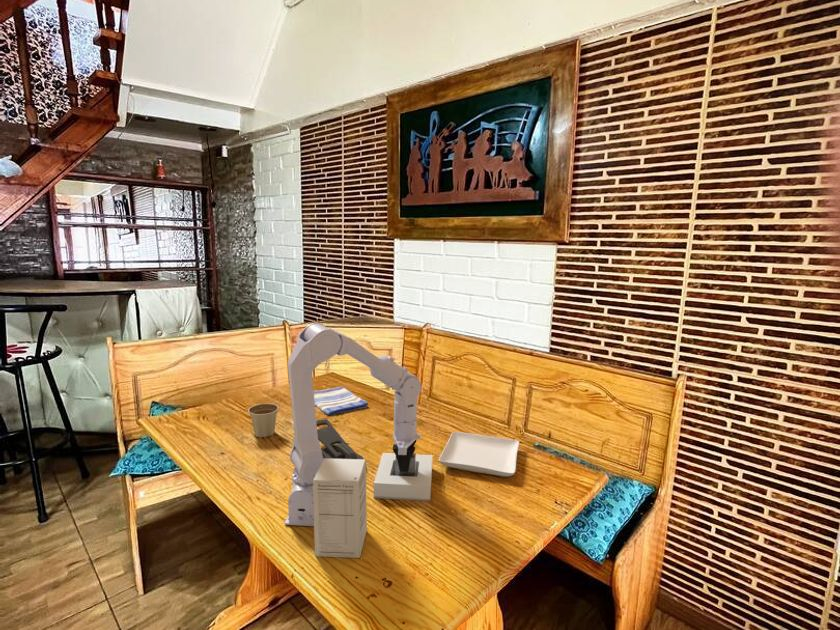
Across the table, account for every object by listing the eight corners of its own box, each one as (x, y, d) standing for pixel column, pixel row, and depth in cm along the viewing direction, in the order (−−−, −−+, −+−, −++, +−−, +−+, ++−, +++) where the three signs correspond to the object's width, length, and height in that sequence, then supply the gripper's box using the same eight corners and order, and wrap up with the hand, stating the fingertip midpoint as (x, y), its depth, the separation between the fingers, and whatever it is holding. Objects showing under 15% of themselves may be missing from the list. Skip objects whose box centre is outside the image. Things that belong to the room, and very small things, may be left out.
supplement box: (367, 529, 99) (368, 458, 96) (360, 559, 90) (360, 481, 87) (324, 528, 99) (323, 456, 96) (313, 557, 90) (311, 479, 87)
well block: (430, 501, 110) (430, 486, 109) (373, 498, 111) (373, 483, 110) (432, 468, 126) (432, 455, 125) (382, 466, 127) (382, 452, 126)
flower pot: (280, 437, 143) (280, 412, 142) (249, 442, 140) (248, 415, 138) (278, 426, 152) (277, 402, 150) (248, 430, 148) (247, 405, 147)
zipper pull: (327, 417, 144) (368, 446, 124) (328, 436, 145) (368, 468, 125) (301, 423, 138) (339, 455, 119) (301, 443, 139) (339, 478, 120)
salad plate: (519, 449, 139) (519, 439, 139) (514, 484, 119) (515, 472, 119) (452, 440, 145) (452, 430, 144) (437, 472, 125) (437, 460, 124)
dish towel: (344, 391, 190) (344, 384, 189) (370, 408, 171) (370, 401, 170) (304, 398, 180) (304, 391, 180) (327, 417, 161) (326, 410, 161)
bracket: (414, 487, 115) (415, 458, 114) (395, 486, 116) (395, 457, 114) (416, 475, 121) (416, 447, 120) (397, 474, 121) (398, 446, 120)
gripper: (419, 430, 106) (418, 483, 109) (422, 408, 121) (421, 455, 123) (389, 429, 107) (389, 482, 109) (396, 407, 121) (395, 454, 123)
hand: (404, 468), depth 116 cm, fingers closed on bracket, 2 cm apart
